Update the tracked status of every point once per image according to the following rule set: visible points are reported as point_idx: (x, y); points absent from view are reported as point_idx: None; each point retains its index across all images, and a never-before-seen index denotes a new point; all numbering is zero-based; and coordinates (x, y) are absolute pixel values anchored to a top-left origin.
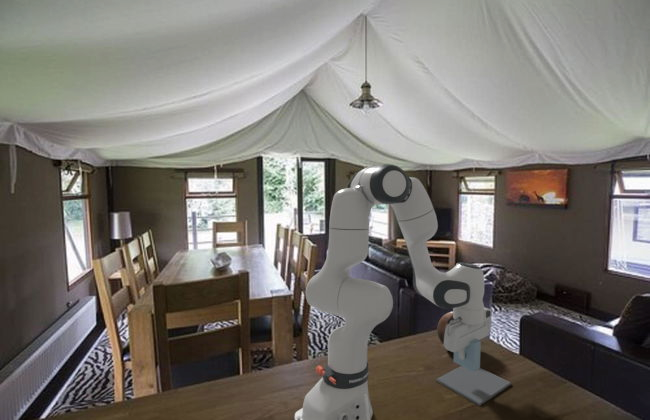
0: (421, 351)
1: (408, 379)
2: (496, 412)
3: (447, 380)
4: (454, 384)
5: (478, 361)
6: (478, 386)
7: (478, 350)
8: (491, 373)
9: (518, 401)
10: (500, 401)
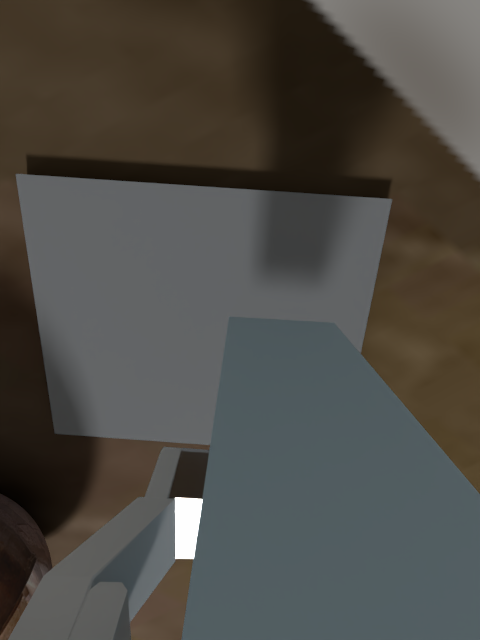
0: (160, 593)
1: None
2: (375, 97)
3: None
4: None
5: (259, 348)
6: (230, 286)
7: (287, 446)
8: (36, 301)
9: (154, 51)
10: (247, 135)
